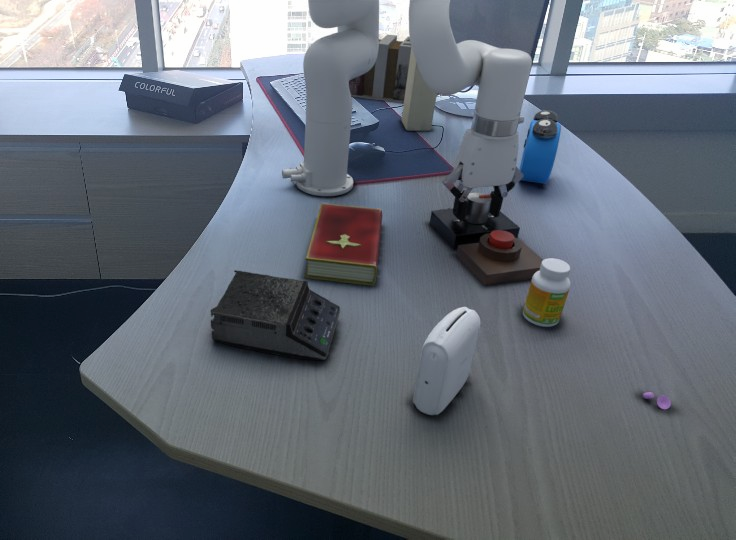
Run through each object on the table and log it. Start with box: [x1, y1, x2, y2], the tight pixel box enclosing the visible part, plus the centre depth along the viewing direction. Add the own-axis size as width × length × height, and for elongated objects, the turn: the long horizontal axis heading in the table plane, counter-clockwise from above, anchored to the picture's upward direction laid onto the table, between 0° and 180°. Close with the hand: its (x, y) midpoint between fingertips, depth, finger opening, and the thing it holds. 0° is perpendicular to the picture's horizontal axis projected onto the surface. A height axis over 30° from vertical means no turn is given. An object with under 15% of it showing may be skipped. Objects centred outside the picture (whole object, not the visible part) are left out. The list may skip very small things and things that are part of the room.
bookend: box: [349, 34, 411, 104], centre depth 193 cm, size 16×25×16 cm, turn 68°
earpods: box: [642, 391, 672, 410], centre depth 84 cm, size 3×2×2 cm
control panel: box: [428, 208, 521, 250], centre depth 122 cm, size 13×10×3 cm
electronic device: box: [210, 269, 341, 361], centre depth 95 cm, size 12×17×6 cm
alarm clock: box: [519, 108, 562, 189], centre depth 139 cm, size 13×6×15 cm, turn 158°
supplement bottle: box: [522, 257, 572, 328], centre depth 97 cm, size 5×5×10 cm
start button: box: [489, 230, 514, 249], centre depth 111 cm, size 4×4×2 cm
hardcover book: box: [304, 202, 383, 287], centre depth 116 cm, size 12×21×4 cm, turn 168°
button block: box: [455, 233, 544, 286], centre depth 111 cm, size 12×10×4 cm
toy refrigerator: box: [401, 47, 437, 132], centre depth 166 cm, size 8×7×21 cm
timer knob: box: [465, 191, 492, 224], centre depth 120 cm, size 4×4×5 cm
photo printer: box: [412, 306, 482, 416], centre depth 82 cm, size 10×4×12 cm, turn 140°
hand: (475, 215), depth 120 cm, fingers open, 6 cm apart
